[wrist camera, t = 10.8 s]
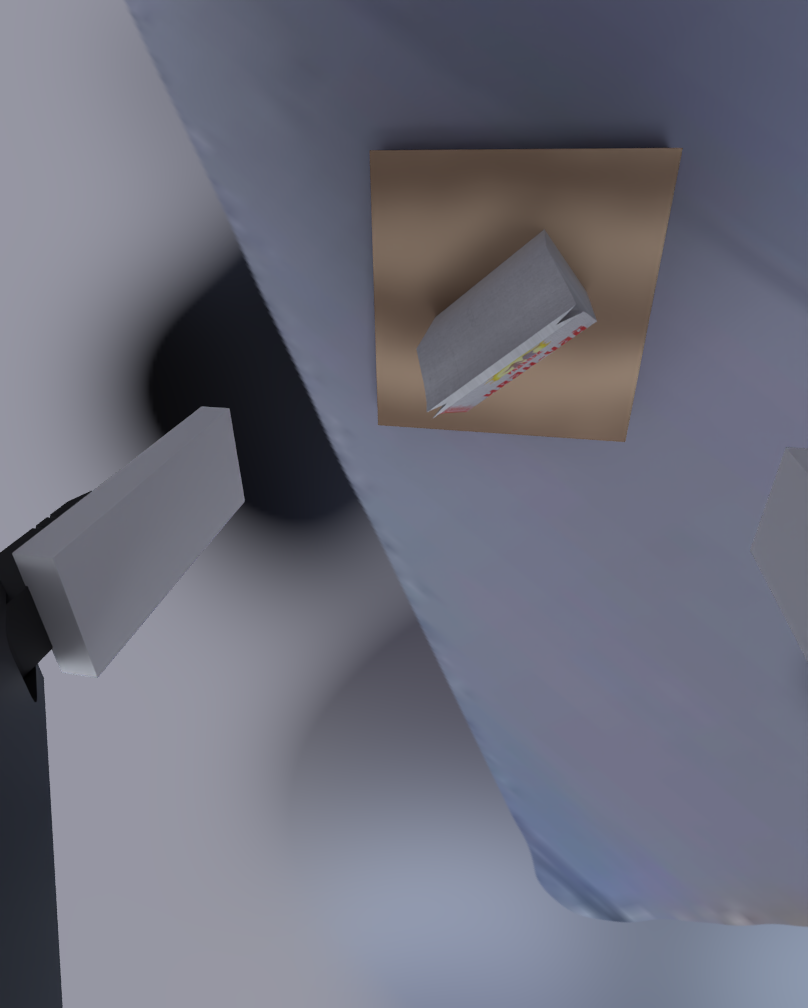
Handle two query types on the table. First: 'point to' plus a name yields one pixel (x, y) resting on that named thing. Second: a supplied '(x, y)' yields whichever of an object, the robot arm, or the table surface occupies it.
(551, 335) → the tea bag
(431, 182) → the pedestal
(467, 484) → the table surface
